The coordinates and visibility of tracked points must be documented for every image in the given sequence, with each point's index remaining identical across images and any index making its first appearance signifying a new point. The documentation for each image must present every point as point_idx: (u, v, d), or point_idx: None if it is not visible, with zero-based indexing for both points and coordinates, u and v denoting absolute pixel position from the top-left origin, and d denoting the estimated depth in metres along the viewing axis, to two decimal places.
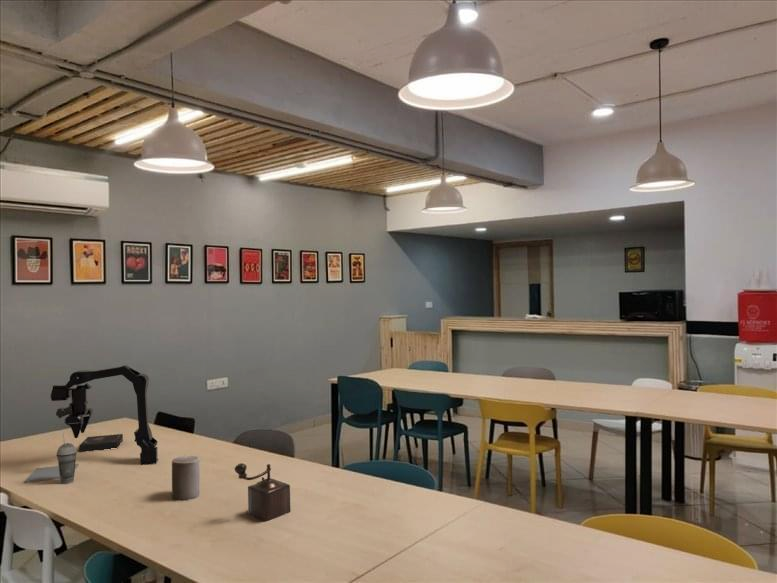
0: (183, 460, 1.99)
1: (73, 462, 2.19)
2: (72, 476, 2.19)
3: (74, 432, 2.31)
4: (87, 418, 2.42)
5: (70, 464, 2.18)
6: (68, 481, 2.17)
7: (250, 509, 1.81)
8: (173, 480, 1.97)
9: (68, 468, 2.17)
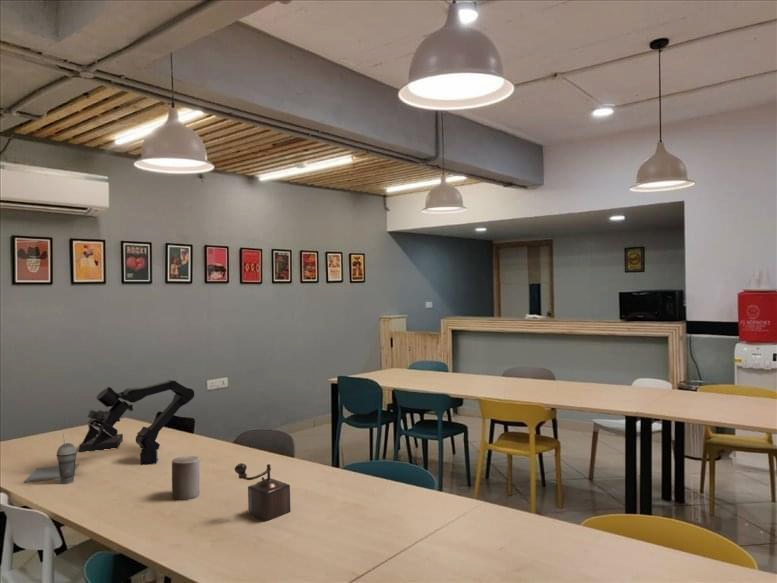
0: (183, 460, 1.99)
1: (73, 462, 2.19)
2: (72, 476, 2.19)
3: (96, 440, 2.23)
4: (97, 432, 2.33)
5: (70, 464, 2.18)
6: (68, 481, 2.17)
7: (250, 509, 1.81)
8: (173, 480, 1.97)
9: (68, 468, 2.17)
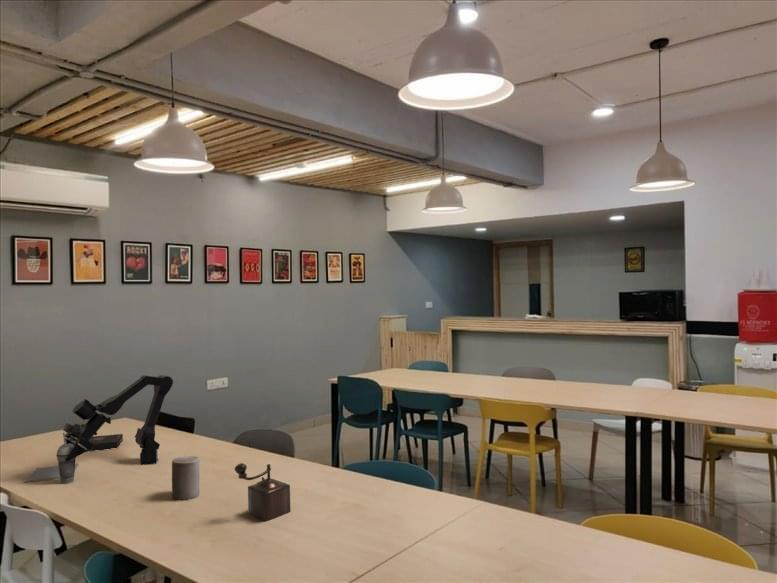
0: (183, 460, 1.99)
1: (73, 462, 2.19)
2: (72, 476, 2.19)
3: (71, 455, 2.16)
4: None
5: (70, 464, 2.18)
6: (68, 481, 2.17)
7: (250, 509, 1.81)
8: (173, 480, 1.97)
9: (68, 468, 2.17)
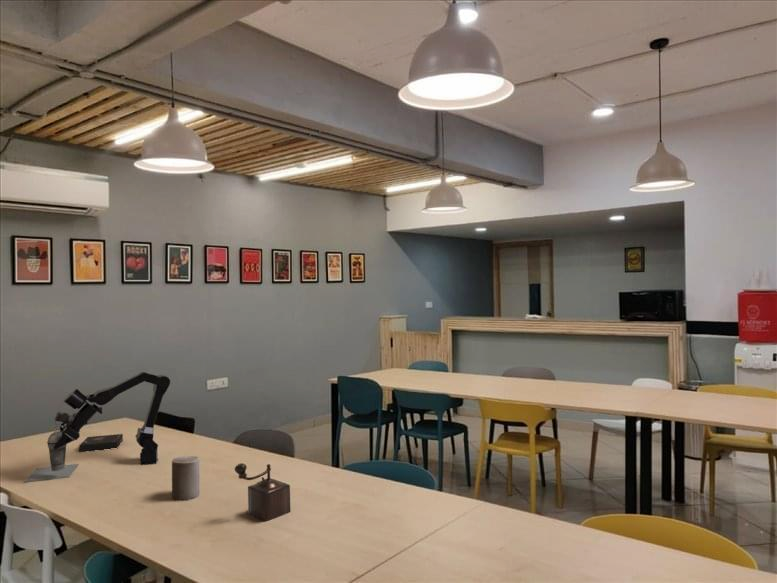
0: (183, 460, 1.99)
1: (62, 450, 2.22)
2: (61, 464, 2.23)
3: (58, 443, 2.20)
4: None
5: (59, 452, 2.22)
6: (57, 469, 2.22)
7: (250, 509, 1.81)
8: (173, 480, 1.97)
9: (57, 456, 2.21)
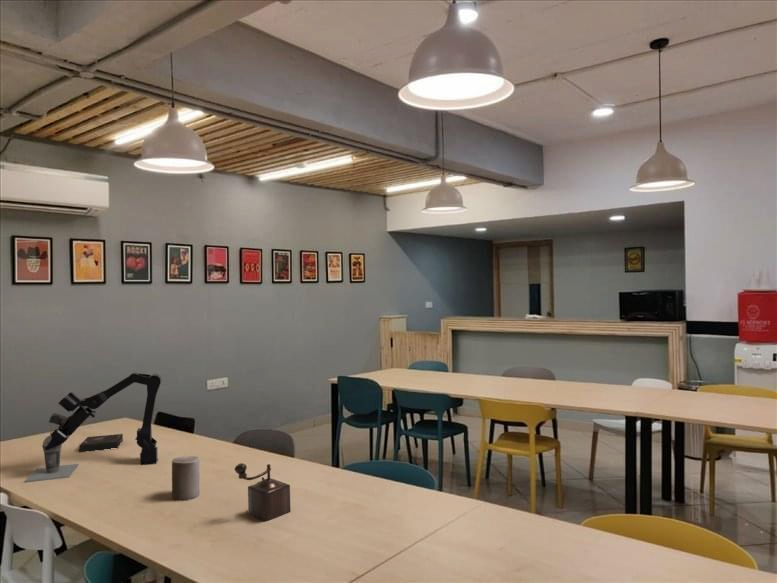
0: (183, 460, 1.99)
1: (55, 453, 2.29)
2: (55, 467, 2.29)
3: (49, 445, 2.26)
4: None
5: (52, 455, 2.28)
6: (50, 471, 2.29)
7: (250, 509, 1.81)
8: (173, 480, 1.97)
9: (50, 459, 2.28)
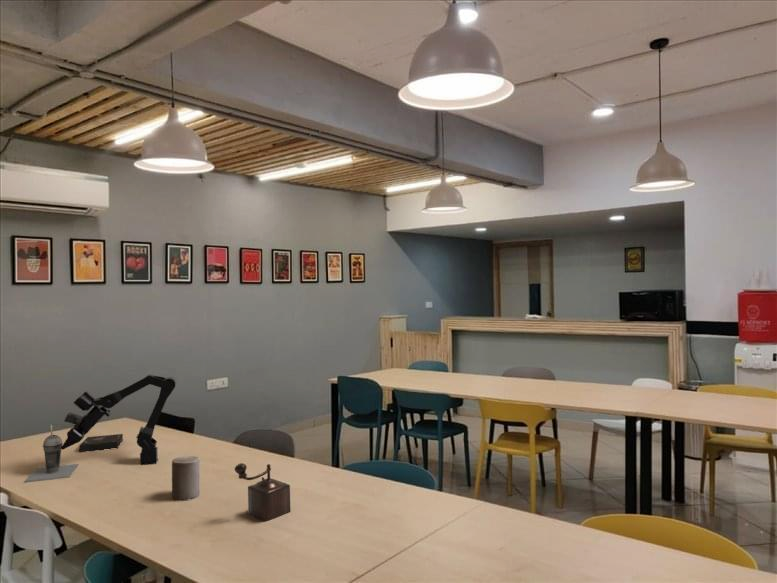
0: (183, 460, 1.99)
1: (55, 453, 2.29)
2: (55, 467, 2.29)
3: (65, 444, 2.28)
4: None
5: (52, 455, 2.29)
6: (50, 471, 2.29)
7: (250, 509, 1.81)
8: (173, 480, 1.97)
9: (50, 459, 2.28)
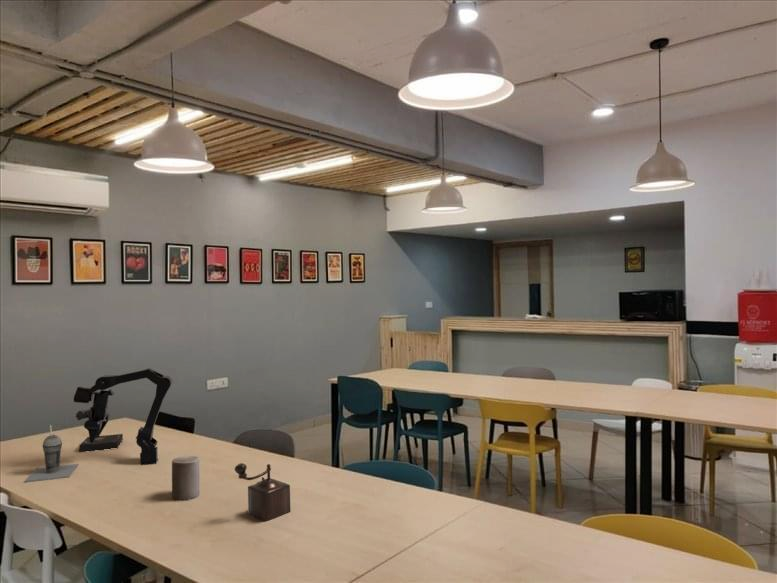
0: (183, 460, 1.99)
1: (55, 453, 2.29)
2: (55, 467, 2.29)
3: (90, 436, 2.32)
4: (104, 423, 2.43)
5: (52, 455, 2.29)
6: (50, 471, 2.29)
7: (250, 509, 1.81)
8: (173, 480, 1.97)
9: (50, 459, 2.28)
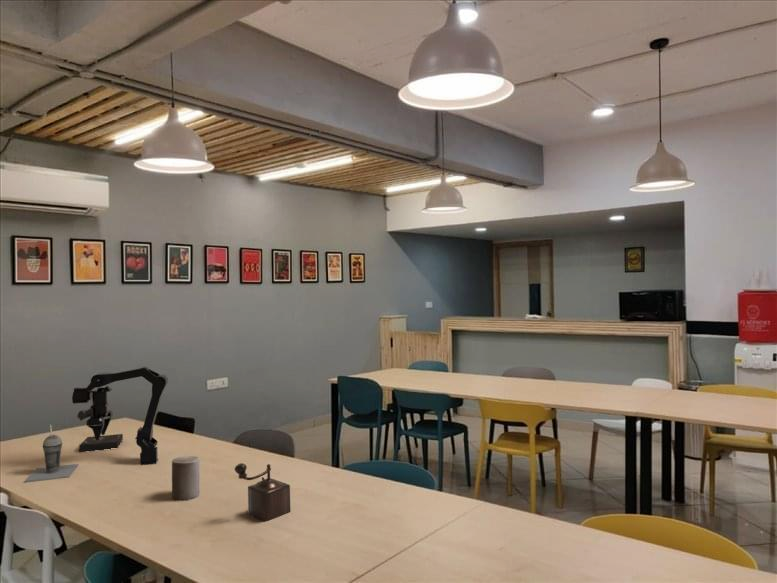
0: (183, 460, 1.99)
1: (55, 453, 2.29)
2: (55, 467, 2.29)
3: (95, 434, 2.33)
4: (107, 420, 2.44)
5: (52, 455, 2.29)
6: (50, 471, 2.29)
7: (250, 509, 1.81)
8: (173, 480, 1.97)
9: (50, 459, 2.28)
